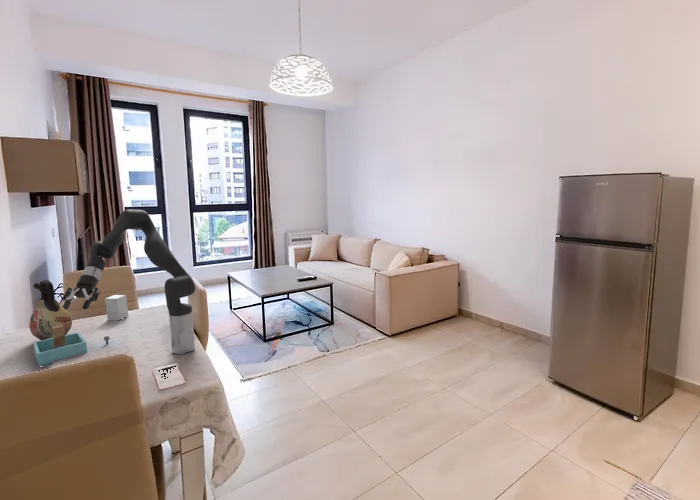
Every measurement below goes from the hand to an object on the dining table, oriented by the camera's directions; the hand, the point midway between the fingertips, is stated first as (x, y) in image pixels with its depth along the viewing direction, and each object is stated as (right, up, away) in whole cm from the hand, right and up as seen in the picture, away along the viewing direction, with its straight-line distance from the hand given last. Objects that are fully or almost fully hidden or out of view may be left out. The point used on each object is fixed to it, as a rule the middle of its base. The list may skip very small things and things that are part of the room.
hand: (74, 308), depth 159 cm
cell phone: (+55, -22, -25) cm, 65 cm away
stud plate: (+14, -17, +1) cm, 23 cm away
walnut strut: (0, -18, -7) cm, 19 cm away
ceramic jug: (-16, -17, +8) cm, 25 cm away
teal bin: (0, -19, -7) cm, 20 cm away
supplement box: (-5, -12, +38) cm, 40 cm away
